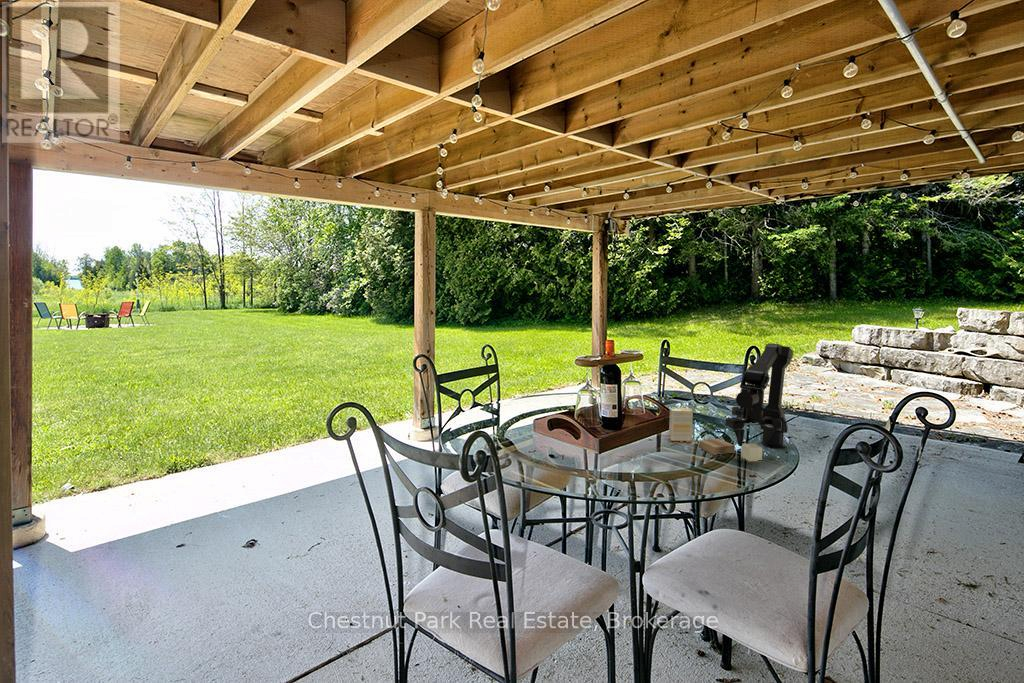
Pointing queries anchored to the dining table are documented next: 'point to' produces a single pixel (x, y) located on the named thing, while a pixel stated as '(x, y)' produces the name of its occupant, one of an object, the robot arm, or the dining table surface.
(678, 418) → the supplement box
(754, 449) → the cube
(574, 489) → the dining table surface
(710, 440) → the walnut block
